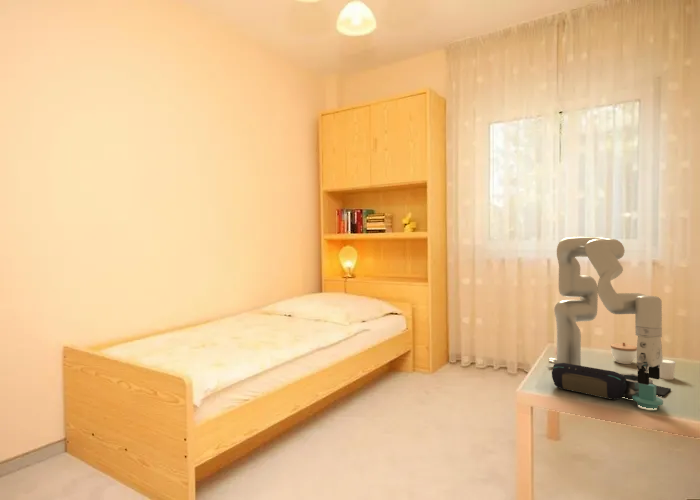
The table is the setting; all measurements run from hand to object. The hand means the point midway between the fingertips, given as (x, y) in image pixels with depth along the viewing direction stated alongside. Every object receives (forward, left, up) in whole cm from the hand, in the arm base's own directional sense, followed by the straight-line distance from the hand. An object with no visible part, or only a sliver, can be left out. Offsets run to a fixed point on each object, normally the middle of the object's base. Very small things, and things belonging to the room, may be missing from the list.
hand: (648, 381), depth 149 cm
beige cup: (-8, +44, -10) cm, 46 cm away
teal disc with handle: (0, 0, -10) cm, 10 cm away
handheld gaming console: (-5, +21, -10) cm, 24 cm away
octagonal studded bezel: (-7, +8, -9) cm, 15 cm away
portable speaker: (-20, -2, -10) cm, 22 cm away
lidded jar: (-28, +55, -10) cm, 63 cm away
